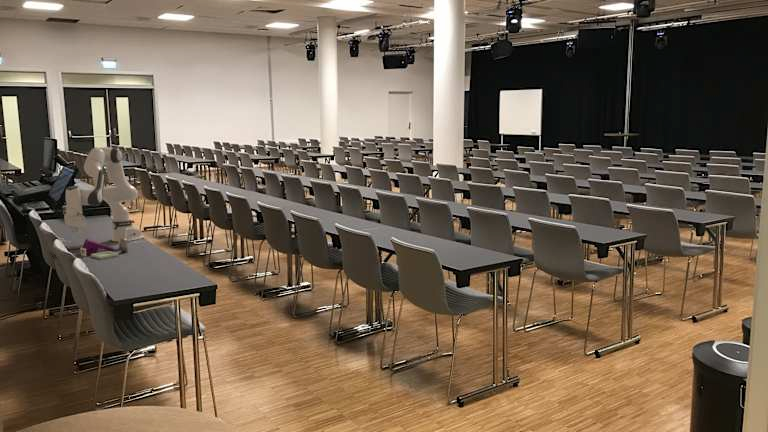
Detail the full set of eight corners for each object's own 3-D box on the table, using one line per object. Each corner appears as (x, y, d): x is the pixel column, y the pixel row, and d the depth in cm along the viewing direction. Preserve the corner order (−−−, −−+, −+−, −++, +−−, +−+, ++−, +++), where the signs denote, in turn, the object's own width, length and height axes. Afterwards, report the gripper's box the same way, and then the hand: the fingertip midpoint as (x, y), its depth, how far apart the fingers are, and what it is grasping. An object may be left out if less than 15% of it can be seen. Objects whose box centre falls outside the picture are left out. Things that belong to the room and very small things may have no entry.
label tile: (81, 255, 413) (81, 247, 412) (86, 256, 409) (86, 248, 408) (80, 255, 412) (80, 247, 412) (85, 256, 409) (85, 248, 408)
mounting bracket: (108, 258, 429) (80, 250, 419) (113, 247, 429) (86, 238, 420) (110, 261, 421) (82, 252, 411) (115, 249, 421) (88, 240, 412)
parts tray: (108, 253, 417) (108, 250, 417) (118, 256, 410) (118, 253, 410) (90, 256, 408) (90, 254, 408) (100, 259, 401) (100, 256, 400)
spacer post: (125, 251, 423) (124, 238, 422) (128, 252, 421) (127, 239, 419) (119, 252, 420) (118, 239, 419) (123, 253, 418) (122, 240, 416)
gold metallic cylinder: (124, 247, 436) (123, 237, 434) (127, 248, 433) (127, 238, 432) (117, 248, 432) (117, 238, 431) (121, 249, 429) (120, 239, 428)
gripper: (87, 213, 399) (89, 234, 402) (71, 209, 412) (73, 231, 414) (77, 214, 394) (79, 236, 397) (61, 211, 407) (63, 232, 409)
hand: (76, 233), depth 405 cm, fingers open, 8 cm apart
